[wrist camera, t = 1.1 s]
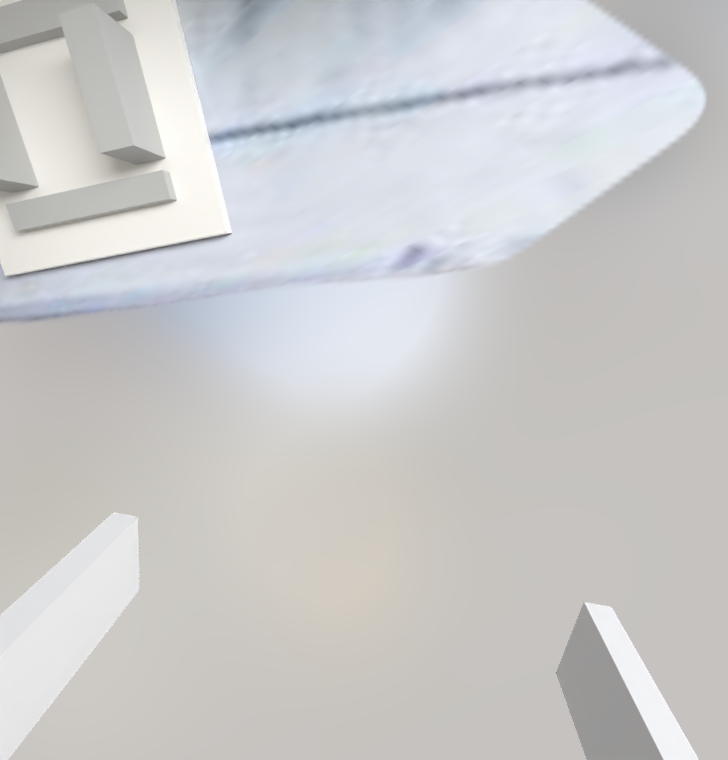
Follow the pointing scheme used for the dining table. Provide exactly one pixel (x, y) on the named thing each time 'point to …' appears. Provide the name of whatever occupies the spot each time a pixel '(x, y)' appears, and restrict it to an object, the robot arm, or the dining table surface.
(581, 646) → the robot arm
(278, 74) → the dining table surface
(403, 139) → the dining table surface
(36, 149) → the slot plate
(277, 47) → the dining table surface
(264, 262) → the dining table surface
